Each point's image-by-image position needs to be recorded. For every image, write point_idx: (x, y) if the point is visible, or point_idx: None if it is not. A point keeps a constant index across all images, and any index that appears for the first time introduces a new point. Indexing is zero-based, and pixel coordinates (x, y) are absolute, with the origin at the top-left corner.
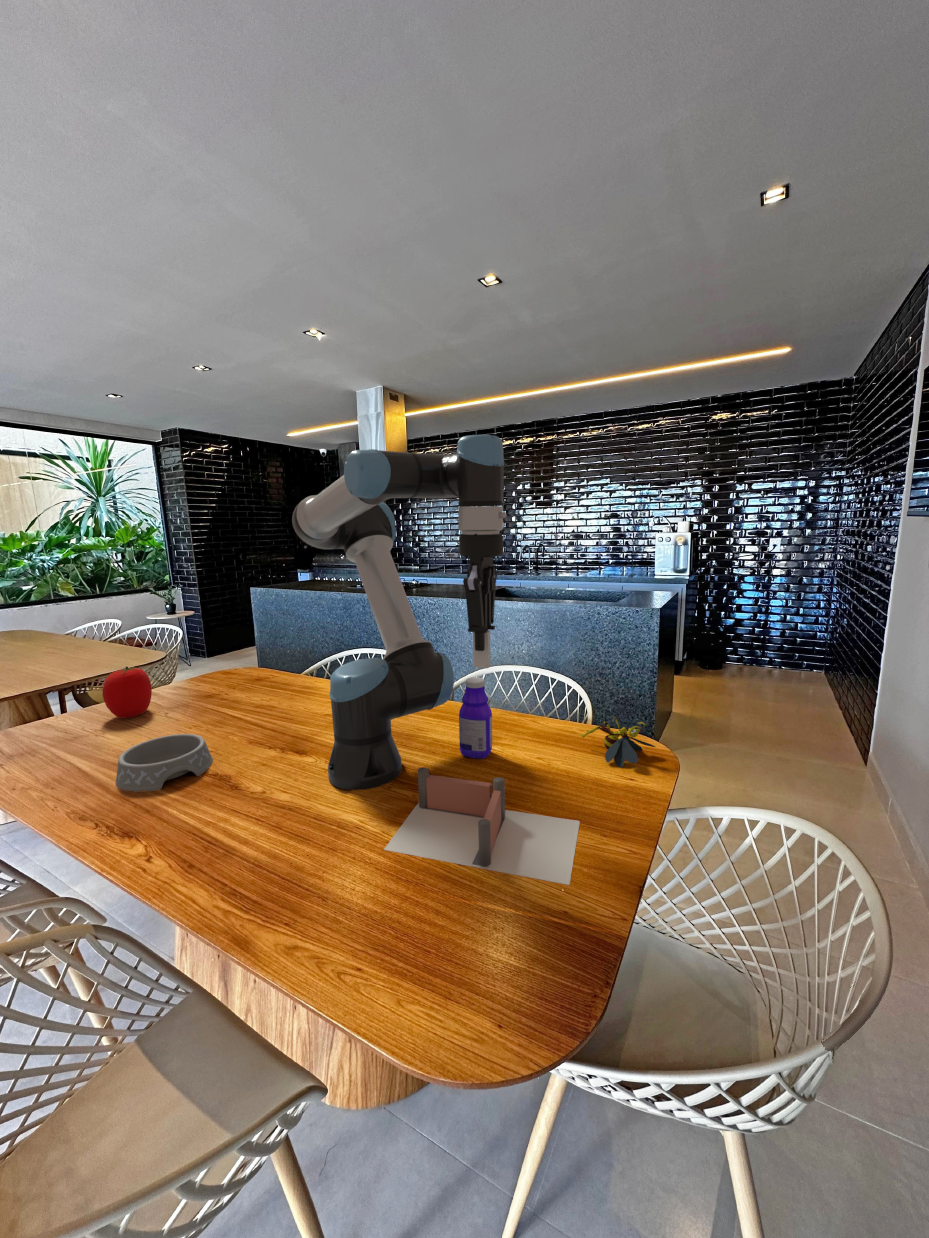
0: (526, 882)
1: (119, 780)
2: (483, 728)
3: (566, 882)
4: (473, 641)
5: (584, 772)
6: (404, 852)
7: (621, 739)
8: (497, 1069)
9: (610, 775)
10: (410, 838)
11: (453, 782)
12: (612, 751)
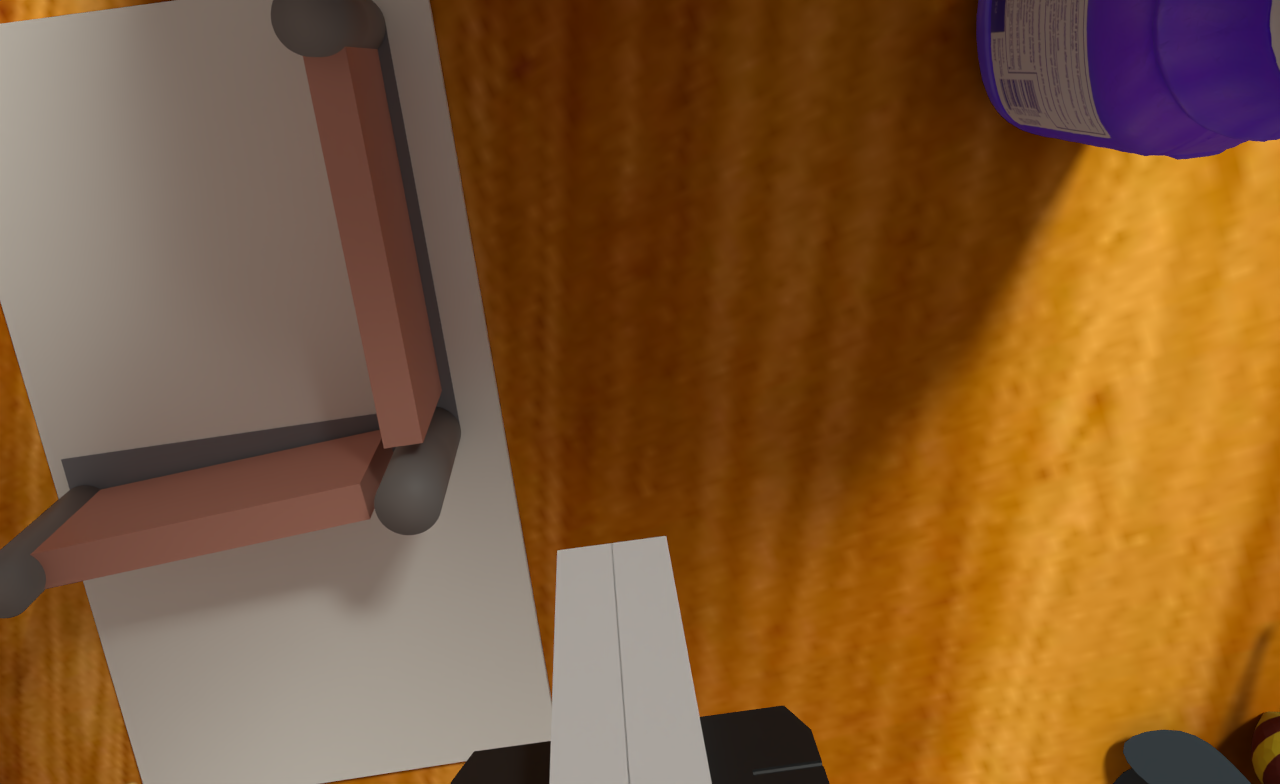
0: (97, 669)
1: None
2: (1074, 121)
3: None
4: (552, 765)
5: (1008, 655)
6: None
7: None
8: None
9: (1015, 765)
10: (66, 112)
11: (342, 234)
12: (1194, 777)
